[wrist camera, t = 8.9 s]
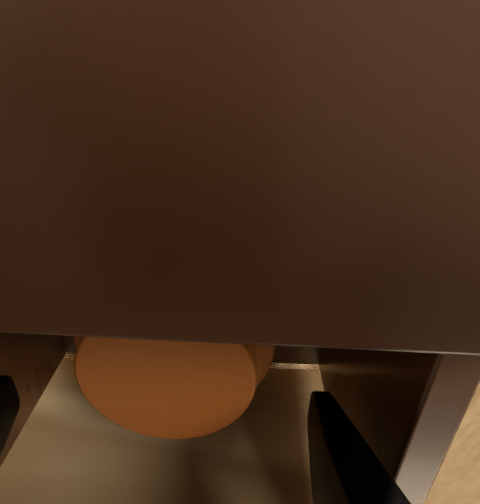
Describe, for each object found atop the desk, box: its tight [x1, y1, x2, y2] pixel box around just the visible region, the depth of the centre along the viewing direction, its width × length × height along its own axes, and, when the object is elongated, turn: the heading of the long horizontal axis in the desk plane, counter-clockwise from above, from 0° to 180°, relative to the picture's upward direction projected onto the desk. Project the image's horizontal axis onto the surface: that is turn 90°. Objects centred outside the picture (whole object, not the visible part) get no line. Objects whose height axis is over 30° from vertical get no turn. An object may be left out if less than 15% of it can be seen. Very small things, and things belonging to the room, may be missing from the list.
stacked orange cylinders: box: [73, 336, 275, 439], centre depth 12 cm, size 5×5×4 cm
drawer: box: [0, 333, 480, 504], centre depth 12 cm, size 17×12×8 cm
